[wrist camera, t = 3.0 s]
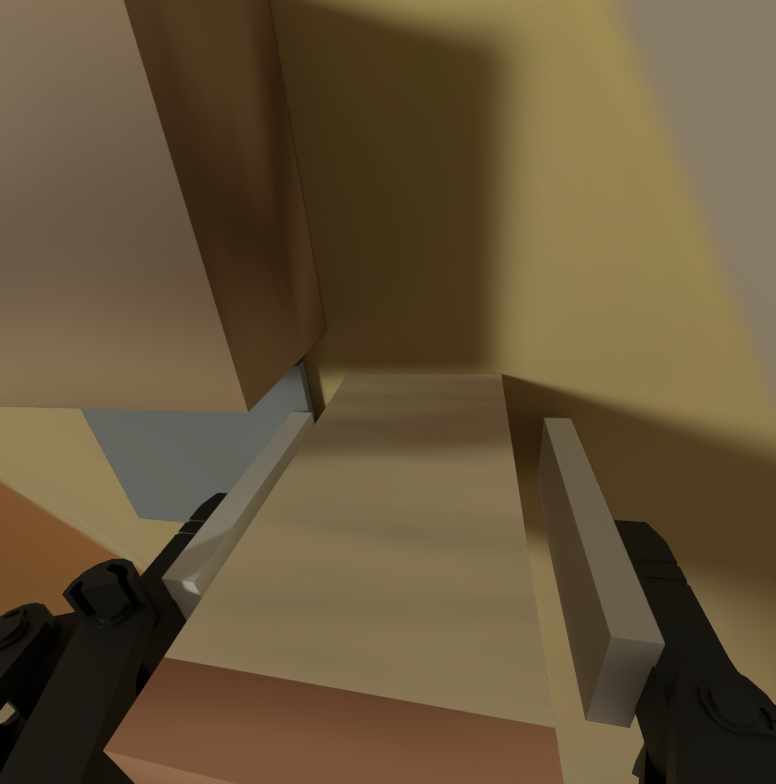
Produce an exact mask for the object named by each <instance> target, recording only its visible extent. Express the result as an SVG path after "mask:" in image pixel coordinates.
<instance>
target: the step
mask: <svg viewBox="0 0 776 784" xmlns="http://www.w3.org/2000/svg"><path fill="white" fill-rule="evenodd" d="M325 333H326V328H325V322H324V316H323V311H322V305H321V299H320V293H319V288H318V282H317V276H316V270H315V264H314V259H313V253H312V247H311V241H310V235H309V230H308V224H307V218H306V212H305V206H304V201H303V195H302V189H301V183H300V178H299V172H298V166H297V160H296V154H295V149H294V143H293V137H292V131H291V125H290V120H289V114H288V108H287V102H286V96H285V91H284V85H283V79H282V73H281V68H280V62H279V56H278V50H277V44H276V39H275V33H274V27H273V21H272V15H271V10H270V4H269V0H0V407H36V408H79V409H122V410H165V411H208V412H249V411H250V410H251V409H252V408H253V407H254V406H255V405H256V404H257V403H258V402H259V401H260V400H261V399H262V398H263V397H264V396H265V395H266V394H267V393H268V392H269V391H270V390H271V389H272V387H273V386H274V385H275V384H276V383H277V382H278V381H279V380H280V379H281V378H282V377H283V376H284V375H285V374H286V373H287V372H288V371H289V370H290V369H291V368H292V367H293V366H294V365H295V364H296V363H297V362H298V361H299V360H300V359H301V358H302V357H303V356H304V355H305V354H306V353H307V352H308V350H309V349H310V348H311V347H312V346H313V345H314V344H315V343H316V342H317V341H318V340H319V339H320V338H321V337H322V336H323V335H324V334H325Z"/></svg>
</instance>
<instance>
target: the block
mask: <svg viewBox="0 0 776 784" xmlns="http://www.w3.org/2000/svg"><path fill="white" fill-rule="evenodd" d="M103 751H104V752H105V753H106V754H107V755H108V756H109V757H110V758H111V759H112V760H113V761H114V762H115V763H116V764H117V766H118V767H119V768H120V769H121V770H122V771H123V772H124V773H125V774H126V775H127V776H128V777H129V778H130V779H131V780H132V781H133V782H134V783H135V784H564V783H563V777H562V770H561V764H560V757H559V751H558V744H557V737H556V731H555V724H554V718H553V711H552V705H551V698H550V691H549V685H548V678H547V672H546V665H545V659H544V652H543V645H542V639H541V632H540V626H539V619H538V613H537V606H536V599H535V593H534V586H533V580H532V573H531V566H530V560H529V553H528V547H527V540H526V534H525V527H524V520H523V514H522V507H521V501H520V494H519V488H518V481H517V474H516V468H515V461H514V455H513V448H512V442H511V435H510V428H509V422H508V415H507V409H506V402H505V396H504V389H503V382H502V376H501V374H347V376H346V377H345V379H344V380H343V382H342V383H341V385H340V387H339V388H338V390H337V391H336V393H335V394H334V396H333V397H332V399H331V400H330V402H329V403H328V405H327V407H326V408H325V410H324V411H323V413H322V414H321V416H320V417H319V419H318V420H317V422H316V423H315V425H314V427H313V428H312V430H311V431H310V433H309V434H308V436H307V437H306V439H305V440H304V442H303V443H302V445H301V447H300V448H299V450H298V451H297V453H296V454H295V456H294V457H293V459H292V460H291V462H290V463H289V465H288V467H287V468H286V470H285V471H284V473H283V474H282V476H281V477H280V479H279V480H278V482H277V483H276V485H275V487H274V488H273V490H272V491H271V493H270V494H269V496H268V497H267V499H266V500H265V502H264V503H263V505H262V507H261V508H260V510H259V511H258V513H257V514H256V516H255V517H254V519H253V520H252V522H251V524H250V525H249V527H248V528H247V530H246V531H245V533H244V534H243V536H242V537H241V539H240V540H239V542H238V544H237V545H236V547H235V548H234V550H233V551H232V553H231V554H230V556H229V557H228V559H227V560H226V562H225V564H224V565H223V567H222V568H221V570H220V571H219V573H218V574H217V576H216V577H215V579H214V580H213V582H212V584H211V585H210V587H209V588H208V590H207V591H206V593H205V594H204V596H203V597H202V599H201V600H200V602H199V604H198V605H197V607H196V608H195V610H194V611H193V613H192V614H191V616H190V617H189V619H188V620H187V622H186V624H185V625H184V627H183V628H182V630H181V631H180V633H179V634H178V636H177V637H176V639H175V640H174V642H173V644H172V645H171V647H170V648H169V650H168V651H167V653H166V654H165V656H164V657H163V659H162V660H161V662H160V664H159V665H158V667H157V668H156V670H155V671H154V673H153V674H152V676H151V677H150V679H149V680H148V682H147V684H146V685H145V687H144V688H143V690H142V691H141V693H140V694H139V696H138V697H137V699H136V700H135V702H134V704H133V705H132V707H131V708H130V710H129V711H128V713H127V714H126V716H125V717H124V719H123V720H122V722H121V724H120V725H119V727H118V728H117V730H116V731H115V733H114V734H113V736H112V737H111V739H110V740H109V742H108V744H107V745H106V747H105V748H104V750H103Z"/></svg>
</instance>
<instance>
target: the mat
mask: <svg viewBox="0 0 776 784" xmlns="http://www.w3.org/2000/svg"><path fill="white" fill-rule="evenodd" d="M81 411H82V413H83V415H84V417H85V418H86V420H87V422H88V424H89V426H90V428H91V430H92V431H93V433H94V435H95V437H96V439H97V441H98V443H99V444H100V446H101V448H102V450H103V452H104V454H105V456H106V458H107V459H108V461H109V463H110V465H111V467H112V469H113V471H114V472H115V474H116V476H117V478H118V480H119V482H120V484H121V485H122V487H123V489H124V491H125V493H126V495H127V497H128V499H129V500H130V502H131V504H132V506H133V508H134V510H135V512H136V513H137V515H138V517H139V518H143V519H153V520H164V521H175V522H185V523H186V522H188V521H189V518H190V517H191V516H192V515H193V514H194V512H195V511H196V510H197V509H198V508H199V506H200V505H201V504H203V503H204V502H205V501H207V500H208V499H210V498H211V497H212V496H214V495H215V494H216V493H229V491H230V490H231V489H232V488H233V486H234V485H235V484H236V483H237V481H238V480H239V479H240V477H241V476H242V475H243V474H244V472H245V471H246V470H247V469H248V467H249V466H250V465H251V463H252V462H253V461H254V460H255V458H256V457H257V456H258V455H259V453H260V452H261V451H262V449H263V448H264V447H265V446H266V444H267V443H268V442H269V441H270V439H271V438H272V437H273V435H274V434H275V433H276V432H277V430H278V429H279V428H280V426H281V425H282V424H283V423H284V421H285V420H286V419H287V418H288V416H289V415H290V414H291V412H310V413H312V415H313V420H314V425H315V423H316V419H315V414H314V410H313V405H312V400H311V395H310V390H309V386H308V381H307V376H306V371H305V367H304V362H303V361H298V362H297V363H296V364H295V365H294V366H293V367H292V368H291V369H290V370H289V371H288V372H287V373H286V374H285V375H284V376H283V377H282V378H281V379H280V380H279V381H278V382H277V383H276V384H275V385H274V386H273V387H272V389H271V390H270V391H269V392H268V393H267V394H266V395H265V396H264V397H263V398H262V399H261V400H260V401H259V402H258V403H257V404H256V405H255V406H254V407H253V408H252V409H251V410H250V411H249V412H208V411H165V410H122V409H81Z"/></svg>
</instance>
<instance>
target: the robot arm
mask: <svg viewBox="0 0 776 784" xmlns="http://www.w3.org/2000/svg"><path fill="white" fill-rule="evenodd" d="M313 427H314V420H313V415H312V413H310V412H291V414H290V415H289V416H288V418H287V419H286V420H285V421H284V423H283V424H282V425H281V426H280V428H279V429H278V430H277V432H276V433H275V434H274V435H273V437H272V438H271V439H270V441H269V442H268V443H267V444H266V446H265V447H264V448H263V449H262V451H261V452H260V453H259V455H258V456H257V457H256V458H255V460H254V461H253V462H252V463H251V465H250V466H249V467H248V469H247V470H246V471H245V472H244V474H243V475H242V476H241V477H240V479H239V480H238V481H237V483H236V484H235V485H234V486H233V488H232V489H231V490H230V491H229V493H216V494H215V495H214V496H212V497H211V498H210V499H208V500H207V501H205V502H204V503H203V504H201V505H200V506H199V508H198V509H197V510H196V511H195V512H194V514H193V515H192V516H191V517H190V518H189V521H188V522H186V523H185V524H184V525H183V527H182V528H181V529H180V530H179V533H178V535H175V536H174V537H173V539H172V540H171V541H170V542H169V543H168V545H167V546H166V547H165V548H164V549H163V550H162V552H161V553H160V554H159V555H158V556H157V558H156V559H155V560H154V561H153V562H152V564H151V565H150V566H149V567H148V568H147V569H146V571H145V572H144V573H143V574H142V575H141V577H140V575H139V573H138V572H137V570H136V568H135V567H134V565H133V563H132V562H131V561H129V560H126V559H111V560H108V561H106V562H103V563H100V564H97V565H96V566H94V567H92V568H90V569H89V570H87V571H85V572H84V573H83V574H81V575H80V576H79V577H78V578H76V579H75V580H74V581H73V582H72V583H71V584H70V585H69V586H68V587H67V589H66V590H65V591H64V593H63V594H62V595H63V596H64V597H65V598H66V600H67V601H68V603H69V604H70V605H71V606H72V608H73V609H74V610H75V612H73V613H68V614H63V615H58V616H53V615H52V614H51V612H50V611H49V610H48V609H47V607H46V606H45V605H44V604H39V603H31V604H26V605H22V606H20V607H18V608H15V609H13V610H11V611H8V612H7V613H5V614H4V615H2V616H0V710H1V709H2V708H3V706H4V705H5V704H6V703H8V704H9V705H10V706H11V707H13V708H14V709H15V710H16V711H15V712H14V713H13V714H12V715H11V716H10V717H9V719H7V720H6V721H5V722H3V723H1V724H0V784H135V783H134V782H133V781H132V780H131V779H130V778H129V777H128V776H127V775H126V774H125V773H124V772H123V771H122V770H121V769H120V768H119V767H118V766H117V764H116V763H115V762H114V761H113V760H112V759H111V758H110V757H109V756H108V755H107V754H106V753H105V752H104V751H103V750H104V748H105V747H106V745H107V744H108V742H109V740H110V739H111V737H112V736H113V734H114V733H115V731H116V730H117V728H118V727H119V725H120V724H121V722H122V720H123V719H124V717H125V716H126V714H127V713H128V711H129V710H130V708H131V707H132V705H133V704H134V702H135V700H136V699H137V697H138V696H139V694H140V693H141V691H142V690H143V688H144V687H145V685H146V684H147V682H148V680H149V679H150V677H151V676H152V674H153V673H154V671H155V670H156V668H157V667H158V665H159V664H160V662H161V660H162V659H163V657H164V656H165V654H166V653H167V651H168V650H169V648H170V647H171V645H172V644H173V642H174V640H175V639H176V637H177V636H178V634H179V633H180V631H181V630H182V628H183V627H184V625H185V624H186V622H187V620H188V619H189V617H190V616H191V614H192V613H193V611H194V610H195V608H196V607H197V605H198V604H199V602H200V600H201V599H202V597H203V596H204V594H205V593H206V591H207V590H208V588H209V587H210V585H211V584H212V582H213V580H214V579H215V577H216V576H217V574H218V573H219V571H220V570H221V568H222V567H223V565H224V564H225V562H226V560H227V559H228V557H229V556H230V554H231V553H232V551H233V550H234V548H235V547H236V545H237V544H238V542H239V540H240V539H241V537H242V536H243V534H244V533H245V531H246V530H247V528H248V527H249V525H250V524H251V522H252V520H253V519H254V517H255V516H256V514H257V513H258V511H259V510H260V508H261V507H262V505H263V503H264V502H265V500H266V499H267V497H268V496H269V494H270V493H271V491H272V490H273V488H274V487H275V485H276V483H277V482H278V480H279V479H280V477H281V476H282V474H283V473H284V471H285V470H286V468H287V467H288V465H289V463H290V462H291V460H292V459H293V457H294V456H295V454H296V453H297V451H298V450H299V448H300V447H301V445H302V443H303V442H304V440H305V439H306V437H307V436H308V434H309V433H310V431H311V430H312V428H313ZM536 488H537V493H538V497H539V502H540V507H541V512H542V516H543V521H544V526H545V530H546V535H547V540H548V545H549V549H550V554H551V559H552V564H553V568H554V573H555V578H556V583H557V587H558V592H559V597H560V601H561V606H562V611H563V616H564V620H565V625H566V630H567V635H568V639H569V644H570V649H571V653H572V658H573V663H574V668H575V672H576V677H577V682H578V687H579V691H580V696H581V701H582V706H583V710H584V715H585V720H587V721H593V722H598V723H604V724H610V725H616V726H621V727H627V728H630V726H631V723H632V721H633V719H634V716H635V714H636V716H637V719H638V723H639V726H640V729H641V732H642V736H643V739H644V742H645V743H644V745H643V747H642V749H641V751H640V753H639V755H638V757H637V759H636V761H635V765H634V768H633V771H632V774H633V775H635V776H637V777H638V778H639V784H776V705H775V704H773V702H772V701H771V700H770V698H769V697H768V696H767V695H766V694H765V693H764V692H763V691H762V690H761V689H759V688H758V687H757V686H756V685H755V684H754V683H753V682H751V681H750V680H749V679H748V678H747V677H745V676H743V675H741V674H740V673H739V672H738V671H737V670H736V668H735V667H734V665H733V664H732V662H731V661H730V659H729V658H728V656H727V654H726V652H725V650H724V648H723V646H722V645H721V643H720V641H719V639H718V637H717V635H716V634H715V632H714V630H713V628H712V626H711V624H710V622H709V621H708V619H707V617H706V615H705V613H704V611H703V609H702V608H701V606H700V604H699V602H698V600H697V598H696V596H695V595H694V593H693V591H692V589H691V587H690V585H687V580H686V578H685V576H684V574H683V572H682V571H681V569H680V567H678V566H677V561H676V559H675V558H674V556H673V554H672V552H671V550H670V548H669V546H668V545H667V543H666V541H665V540H664V539H663V538H662V537H661V536H660V535H659V534H658V533H657V532H655V531H654V530H653V529H652V528H651V527H650V526H649V525H648V524H647V523H646V522H632V521H619V520H613V518H612V516H611V513H610V511H609V509H608V506H607V504H606V501H605V499H604V497H603V494H602V492H601V490H600V487H599V485H598V482H597V480H596V478H595V475H594V473H593V470H592V468H591V466H590V463H589V461H588V458H587V456H586V454H585V451H584V449H583V447H582V444H581V442H580V439H579V437H578V435H577V432H576V430H575V427H574V425H573V423H572V420H571V418H544V423H543V431H542V440H541V448H540V457H539V466H538V474H537V483H536Z"/></svg>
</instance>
